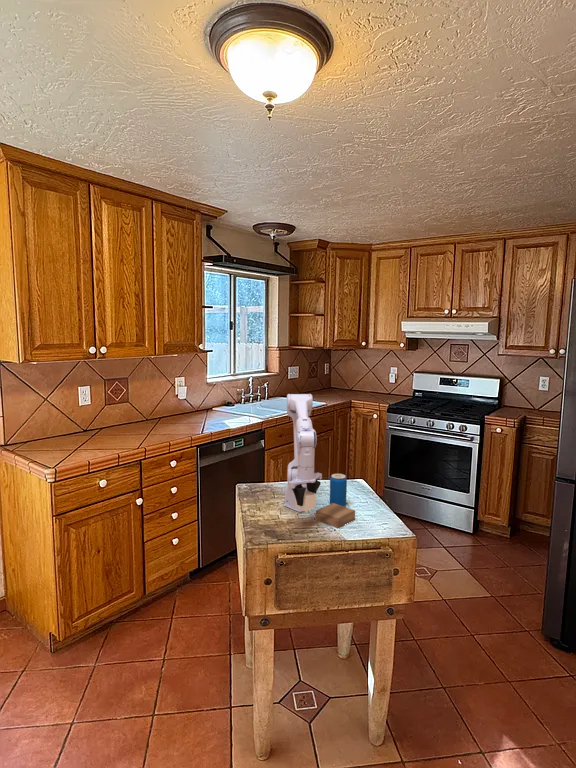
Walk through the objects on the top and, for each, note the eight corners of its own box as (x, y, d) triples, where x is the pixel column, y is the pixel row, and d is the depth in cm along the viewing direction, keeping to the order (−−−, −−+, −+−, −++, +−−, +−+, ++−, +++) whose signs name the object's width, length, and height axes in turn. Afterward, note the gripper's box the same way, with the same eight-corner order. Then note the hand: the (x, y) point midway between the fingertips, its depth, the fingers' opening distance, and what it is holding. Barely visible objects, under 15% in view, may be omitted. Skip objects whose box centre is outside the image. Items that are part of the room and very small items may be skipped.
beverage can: (344, 502, 180) (345, 473, 179) (347, 508, 174) (348, 478, 172) (328, 502, 180) (329, 473, 179) (330, 508, 174) (331, 478, 172)
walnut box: (316, 521, 164) (316, 510, 163) (332, 513, 171) (333, 502, 170) (338, 529, 157) (338, 518, 156) (354, 520, 164) (355, 510, 163)
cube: (295, 507, 158) (295, 493, 157) (305, 503, 161) (305, 489, 160) (305, 511, 154) (305, 497, 153) (315, 507, 157) (315, 493, 157)
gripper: (299, 472, 148) (299, 512, 149) (328, 463, 158) (327, 500, 159) (284, 467, 153) (284, 506, 154) (313, 459, 163) (313, 495, 164)
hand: (305, 503), depth 157 cm, fingers closed on cube, 5 cm apart
